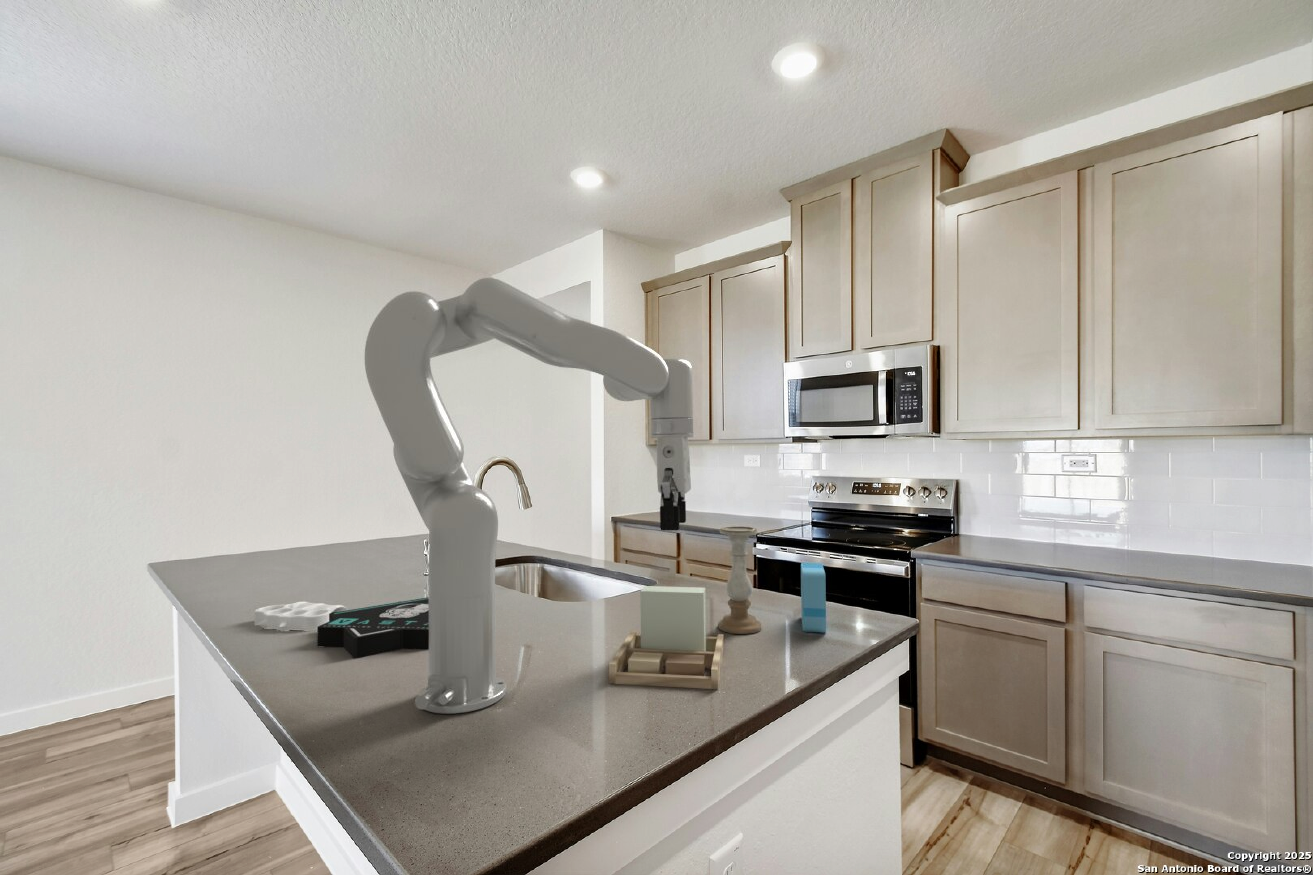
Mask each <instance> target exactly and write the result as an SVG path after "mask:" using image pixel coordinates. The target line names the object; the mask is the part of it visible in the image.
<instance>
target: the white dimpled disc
mask: <svg viewBox="0 0 1313 875" xmlns="http://www.w3.org/2000/svg"><path fill="white" fill-rule="evenodd" d="M346 610H348V607H346V606H344V605H342V604H336V605H335V604H333V605H332V604H326V603H322V602H320V603H319V602H318V603H316V602H315V603H314V602H308V601H297V602H292V603H287V604H275V605H274V604H273V605H267V606H262V607H258V608H256V609H255V610H254V626H255V625H260V626H259V627H262V626H263V627H262V629H263V628H264V629H263V630H266V629H278V630H281V631H280V632H284V631H283V630H293V629H302V630H315V629H317V627H318V626H320V625H322V624H325V623H327V622H329V613H334V612H340V611H346ZM278 630H277V631H278Z"/></svg>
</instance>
